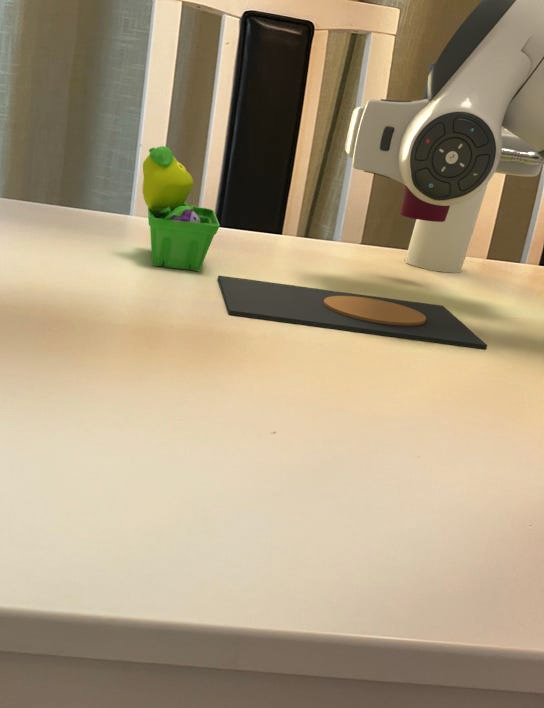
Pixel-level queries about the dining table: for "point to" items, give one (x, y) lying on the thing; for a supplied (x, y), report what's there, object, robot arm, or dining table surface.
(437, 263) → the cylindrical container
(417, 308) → the placemat
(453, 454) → the dining table surface
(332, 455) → the dining table surface
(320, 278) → the dining table surface
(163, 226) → the fruit basket
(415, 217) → the cup
